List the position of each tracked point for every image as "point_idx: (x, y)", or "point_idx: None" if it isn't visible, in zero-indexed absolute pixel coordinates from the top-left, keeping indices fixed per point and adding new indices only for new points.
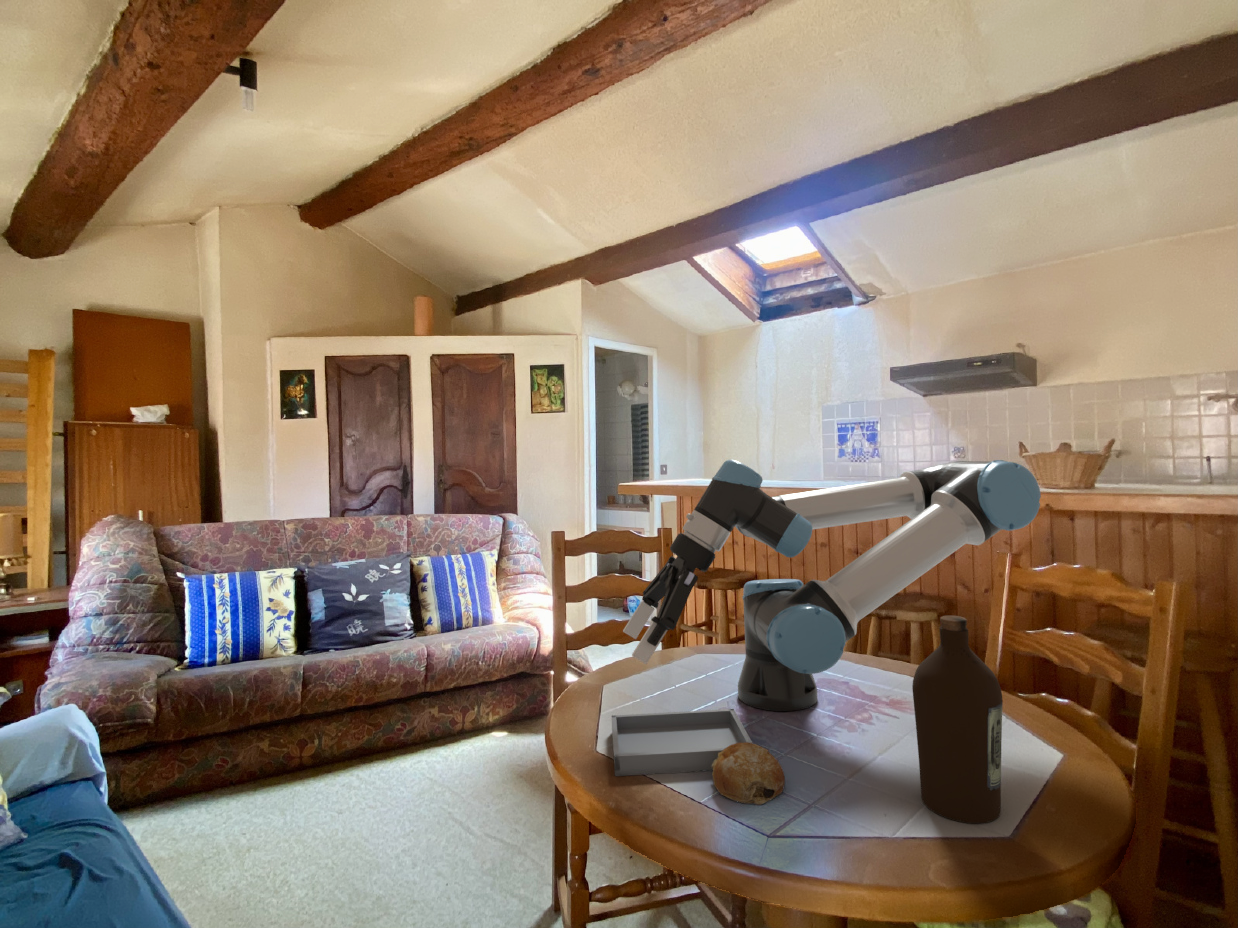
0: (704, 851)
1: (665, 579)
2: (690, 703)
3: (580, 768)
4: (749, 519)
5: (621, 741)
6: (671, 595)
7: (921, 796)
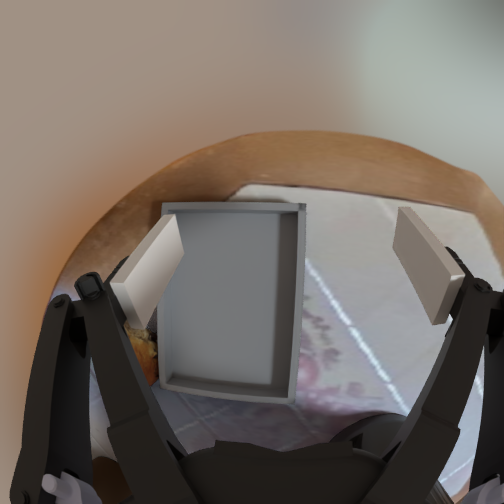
0: (57, 279)
1: (361, 461)
2: (390, 345)
3: (200, 165)
4: None
5: (252, 219)
6: (46, 381)
7: (117, 463)
